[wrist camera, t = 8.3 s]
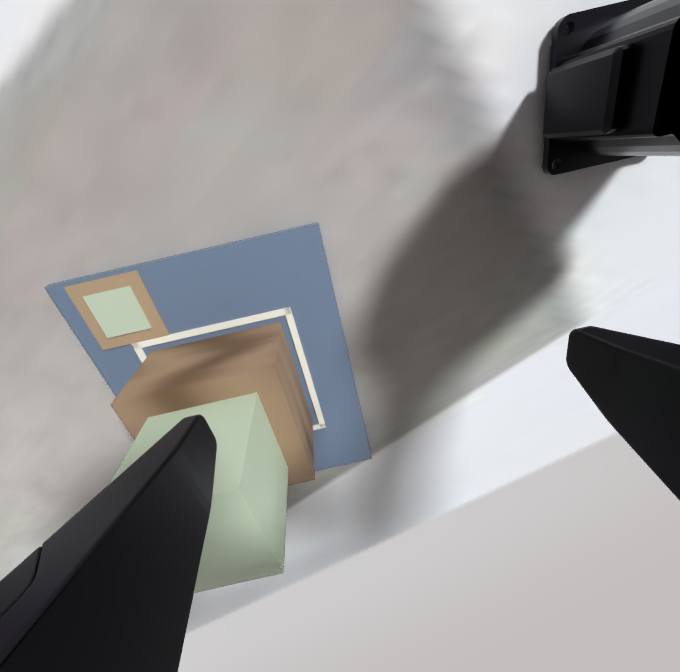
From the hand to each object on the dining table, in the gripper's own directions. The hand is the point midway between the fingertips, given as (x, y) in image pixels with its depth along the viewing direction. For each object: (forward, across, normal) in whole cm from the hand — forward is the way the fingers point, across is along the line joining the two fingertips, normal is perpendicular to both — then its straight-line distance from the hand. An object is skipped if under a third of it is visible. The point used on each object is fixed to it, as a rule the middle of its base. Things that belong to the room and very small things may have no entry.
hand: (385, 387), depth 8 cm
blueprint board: (+12, +8, +7) cm, 17 cm away
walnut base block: (+12, +8, +7) cm, 16 cm away
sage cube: (+7, +8, +7) cm, 13 cm away
